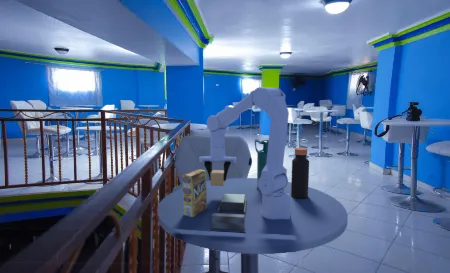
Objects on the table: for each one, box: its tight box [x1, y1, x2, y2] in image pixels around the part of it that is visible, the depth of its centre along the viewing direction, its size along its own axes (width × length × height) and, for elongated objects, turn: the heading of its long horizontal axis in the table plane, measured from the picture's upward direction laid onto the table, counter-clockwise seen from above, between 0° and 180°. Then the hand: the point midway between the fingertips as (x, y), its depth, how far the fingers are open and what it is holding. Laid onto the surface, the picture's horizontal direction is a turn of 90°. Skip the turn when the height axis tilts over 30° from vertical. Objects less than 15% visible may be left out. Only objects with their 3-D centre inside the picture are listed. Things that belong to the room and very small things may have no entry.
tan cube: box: [210, 169, 226, 187], centre depth 114 cm, size 5×5×5 cm
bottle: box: [290, 147, 310, 200], centre depth 118 cm, size 7×7×20 cm
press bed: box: [209, 196, 248, 234], centre depth 99 cm, size 11×24×5 cm, turn 173°
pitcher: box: [254, 138, 269, 191], centre depth 128 cm, size 10×8×22 cm
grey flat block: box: [220, 193, 246, 212], centre depth 106 cm, size 8×9×3 cm
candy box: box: [182, 168, 208, 218], centre depth 100 cm, size 9×4×15 cm, turn 150°
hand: (218, 179), depth 114 cm, fingers closed on tan cube, 5 cm apart
